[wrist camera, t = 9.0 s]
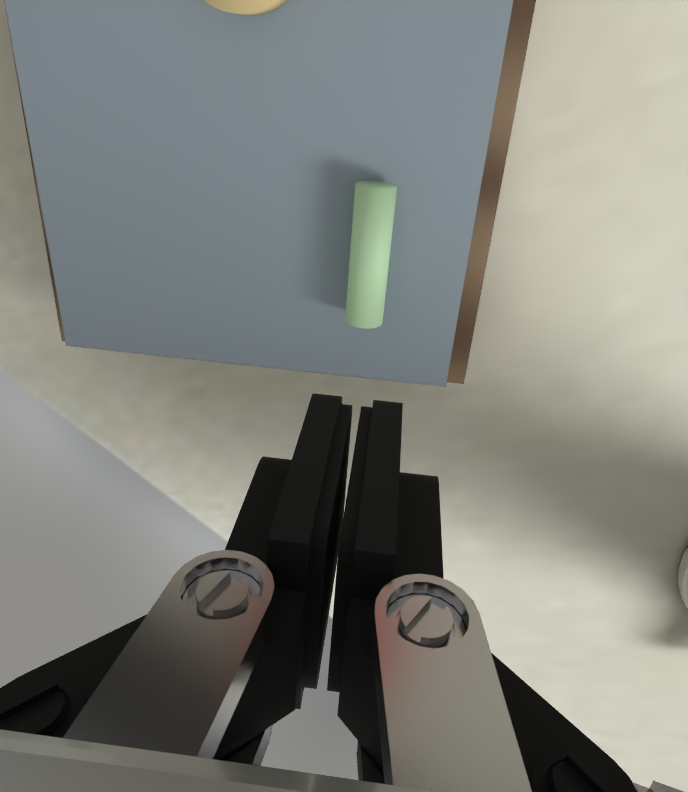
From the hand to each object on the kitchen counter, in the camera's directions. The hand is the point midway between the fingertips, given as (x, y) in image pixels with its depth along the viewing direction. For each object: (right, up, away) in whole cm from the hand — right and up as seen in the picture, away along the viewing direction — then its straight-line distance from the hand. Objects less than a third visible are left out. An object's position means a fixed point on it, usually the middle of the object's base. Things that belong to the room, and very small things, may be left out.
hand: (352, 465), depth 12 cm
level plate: (-4, +11, +13) cm, 18 cm away
